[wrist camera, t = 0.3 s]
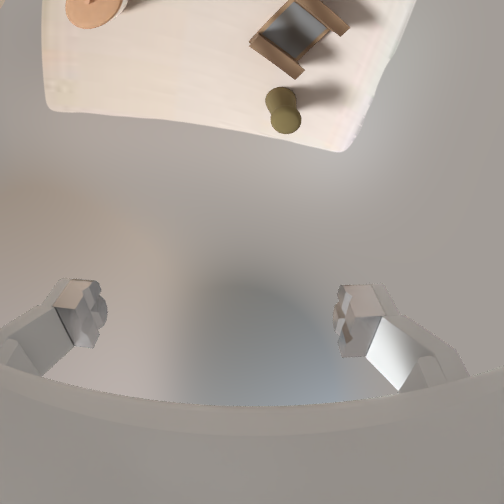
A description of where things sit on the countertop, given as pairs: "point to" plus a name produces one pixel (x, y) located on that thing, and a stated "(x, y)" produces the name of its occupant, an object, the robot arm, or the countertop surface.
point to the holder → (295, 33)
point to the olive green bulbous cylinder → (283, 110)
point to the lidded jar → (93, 12)
